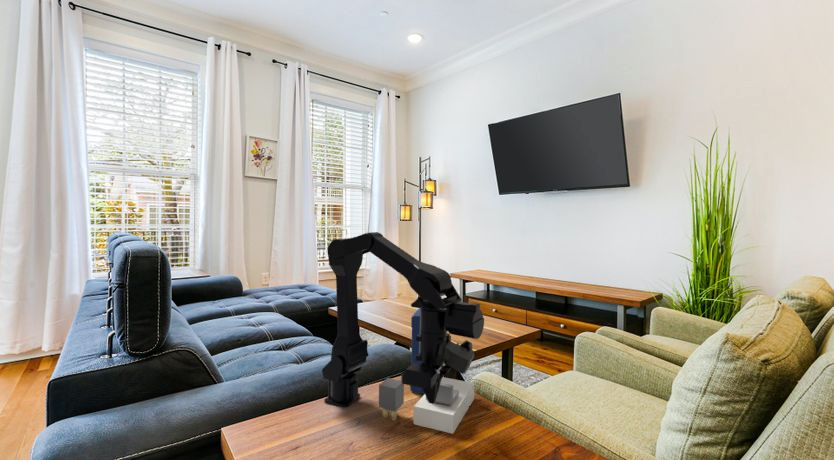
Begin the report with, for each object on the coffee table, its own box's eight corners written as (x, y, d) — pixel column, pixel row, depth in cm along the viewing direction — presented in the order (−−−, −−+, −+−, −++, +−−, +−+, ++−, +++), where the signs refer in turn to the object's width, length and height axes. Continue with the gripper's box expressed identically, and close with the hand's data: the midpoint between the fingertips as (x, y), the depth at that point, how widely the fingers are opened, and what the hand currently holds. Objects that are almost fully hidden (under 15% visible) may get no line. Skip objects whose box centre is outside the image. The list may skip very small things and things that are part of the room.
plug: (378, 418, 87) (378, 385, 87) (387, 409, 91) (387, 377, 91) (395, 422, 86) (395, 388, 85) (403, 413, 90) (403, 381, 89)
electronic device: (429, 394, 99) (430, 317, 98) (409, 392, 100) (410, 315, 99) (434, 379, 109) (436, 308, 108) (416, 377, 110) (417, 307, 109)
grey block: (425, 399, 87) (426, 382, 87) (434, 389, 93) (434, 373, 92) (451, 405, 85) (451, 387, 85) (458, 394, 90) (459, 377, 90)
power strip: (413, 424, 85) (413, 406, 85) (440, 391, 101) (440, 376, 101) (452, 433, 82) (453, 415, 82) (474, 398, 97) (474, 383, 97)
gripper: (456, 349, 70) (454, 434, 71) (481, 323, 87) (480, 392, 88) (400, 341, 75) (399, 420, 75) (435, 317, 92) (434, 382, 92)
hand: (432, 402), depth 83 cm, fingers closed
